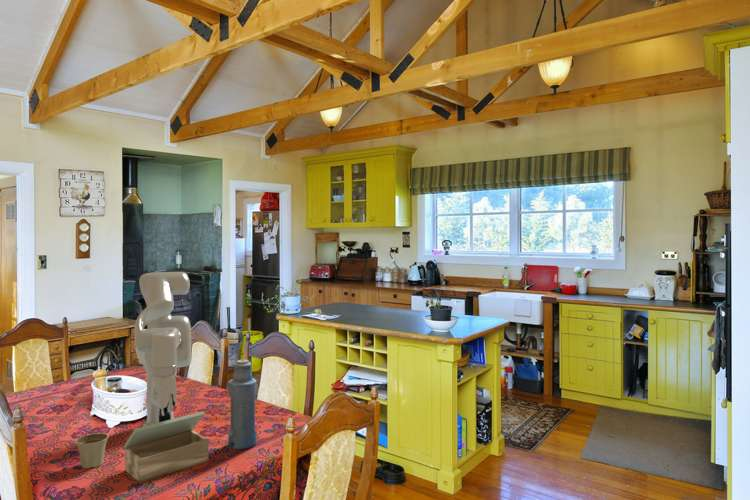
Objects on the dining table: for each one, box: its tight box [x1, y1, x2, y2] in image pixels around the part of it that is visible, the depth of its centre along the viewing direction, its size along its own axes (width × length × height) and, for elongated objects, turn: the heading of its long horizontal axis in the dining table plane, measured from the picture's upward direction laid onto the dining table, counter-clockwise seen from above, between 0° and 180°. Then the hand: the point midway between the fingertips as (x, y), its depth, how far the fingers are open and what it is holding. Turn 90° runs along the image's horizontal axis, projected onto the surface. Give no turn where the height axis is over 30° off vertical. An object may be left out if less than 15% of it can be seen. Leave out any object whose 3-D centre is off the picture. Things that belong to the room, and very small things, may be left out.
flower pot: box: [74, 432, 110, 469], centre depth 167 cm, size 9×9×9 cm
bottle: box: [227, 359, 258, 450], centre depth 182 cm, size 10×10×30 cm
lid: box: [124, 410, 205, 449], centre depth 167 cm, size 12×22×1 cm
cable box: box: [124, 429, 210, 484], centre depth 166 cm, size 12×22×7 cm, turn 135°
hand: (164, 426), depth 167 cm, fingers closed
